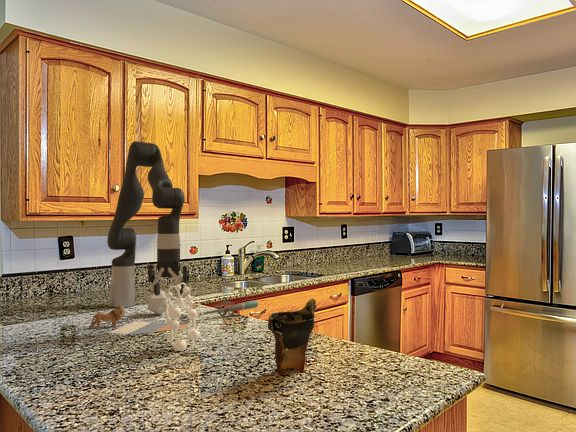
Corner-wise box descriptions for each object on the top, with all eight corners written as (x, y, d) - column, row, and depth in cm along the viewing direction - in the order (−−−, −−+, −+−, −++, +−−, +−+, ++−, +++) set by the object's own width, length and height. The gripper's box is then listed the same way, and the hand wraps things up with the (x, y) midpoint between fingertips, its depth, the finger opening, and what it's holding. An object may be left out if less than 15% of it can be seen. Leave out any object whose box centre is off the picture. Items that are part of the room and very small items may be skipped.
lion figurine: (123, 324, 165) (123, 304, 165) (126, 327, 161) (126, 306, 161) (87, 329, 159) (87, 307, 159) (88, 331, 155) (88, 309, 155)
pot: (297, 363, 123) (297, 295, 123) (332, 372, 116) (332, 300, 116) (251, 381, 110) (251, 305, 110) (289, 393, 103) (289, 311, 103)
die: (164, 318, 175) (164, 291, 175) (143, 317, 177) (143, 290, 177) (174, 313, 184) (174, 288, 184) (153, 312, 185) (153, 287, 185)
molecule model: (196, 272, 134) (186, 271, 136) (159, 298, 123) (149, 296, 126) (213, 329, 140) (203, 327, 143) (179, 359, 130) (169, 356, 132)
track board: (89, 332, 154) (89, 331, 154) (117, 321, 170) (117, 320, 170) (167, 337, 148) (167, 336, 148) (188, 325, 164) (188, 324, 164)
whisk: (174, 331, 171) (170, 313, 172) (250, 315, 189) (246, 299, 190) (183, 326, 162) (180, 307, 164) (262, 310, 180) (258, 293, 182)
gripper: (143, 247, 154) (143, 297, 154) (183, 248, 151) (183, 298, 151) (154, 246, 162) (154, 293, 162) (193, 246, 159) (193, 294, 159)
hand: (168, 295), depth 157 cm, fingers open, 7 cm apart
